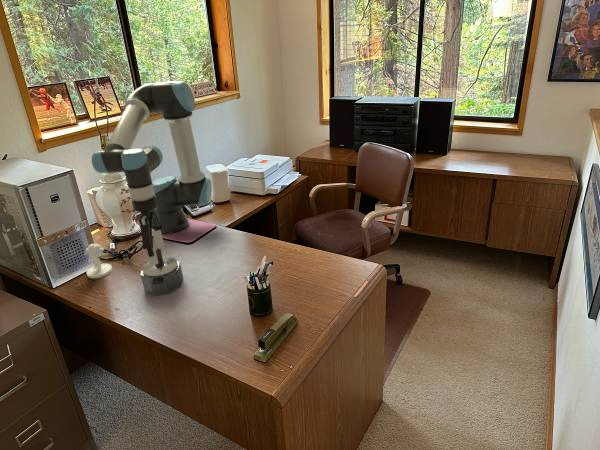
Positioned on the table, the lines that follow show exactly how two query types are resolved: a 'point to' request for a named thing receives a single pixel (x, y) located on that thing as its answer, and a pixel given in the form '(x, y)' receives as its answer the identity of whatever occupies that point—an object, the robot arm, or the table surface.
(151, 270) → the black peg on disc
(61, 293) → the table surface
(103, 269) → the figurine
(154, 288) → the pot
